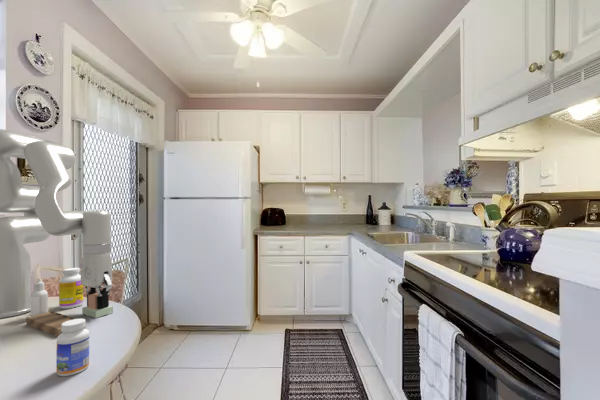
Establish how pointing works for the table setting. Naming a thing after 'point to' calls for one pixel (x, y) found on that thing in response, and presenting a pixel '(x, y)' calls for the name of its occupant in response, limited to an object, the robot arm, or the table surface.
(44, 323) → the board
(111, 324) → the table surface
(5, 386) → the table surface
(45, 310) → the eye dropper bottle
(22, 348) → the table surface
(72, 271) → the supplement bottle
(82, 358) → the pill bottle
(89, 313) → the stub
